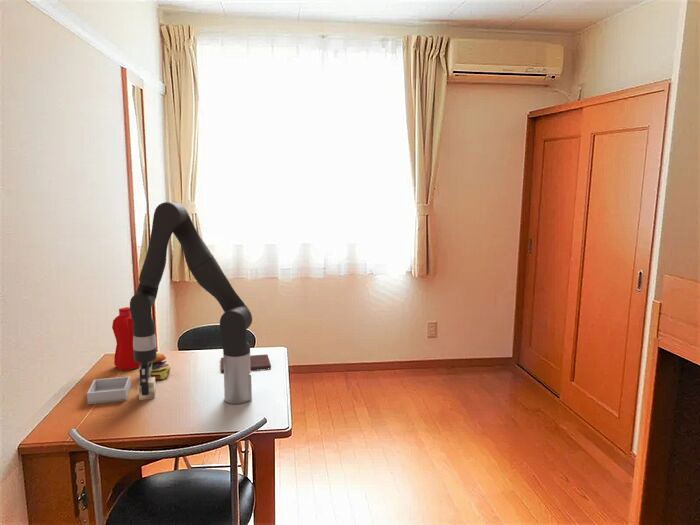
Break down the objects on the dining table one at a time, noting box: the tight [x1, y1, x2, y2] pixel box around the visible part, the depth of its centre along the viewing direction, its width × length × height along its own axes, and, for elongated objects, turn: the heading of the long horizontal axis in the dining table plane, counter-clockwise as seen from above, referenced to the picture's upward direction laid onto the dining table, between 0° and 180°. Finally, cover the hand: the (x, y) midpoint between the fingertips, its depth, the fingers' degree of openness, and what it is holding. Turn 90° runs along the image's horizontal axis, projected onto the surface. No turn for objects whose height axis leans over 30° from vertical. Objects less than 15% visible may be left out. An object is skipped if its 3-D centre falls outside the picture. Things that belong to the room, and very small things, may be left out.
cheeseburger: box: [151, 353, 172, 380], centre depth 201 cm, size 10×11×10 cm
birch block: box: [138, 377, 157, 401], centre depth 183 cm, size 5×5×6 cm
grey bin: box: [86, 376, 132, 405], centre depth 183 cm, size 12×12×4 cm
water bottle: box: [111, 306, 140, 371], centre depth 208 cm, size 9×11×25 cm
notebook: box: [220, 353, 272, 374], centre depth 214 cm, size 15×20×2 cm
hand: (146, 389), depth 183 cm, fingers open, 8 cm apart
